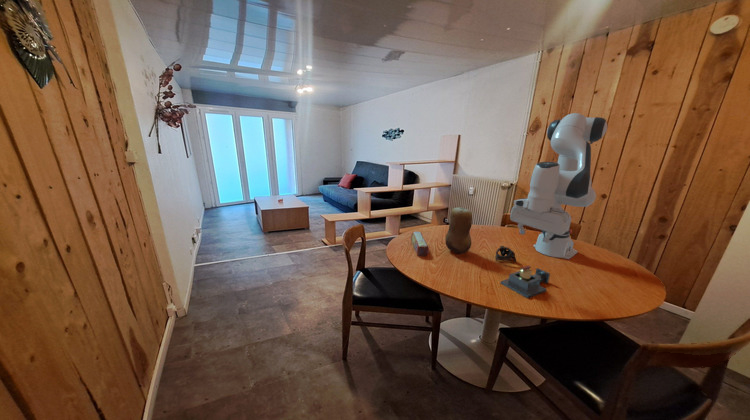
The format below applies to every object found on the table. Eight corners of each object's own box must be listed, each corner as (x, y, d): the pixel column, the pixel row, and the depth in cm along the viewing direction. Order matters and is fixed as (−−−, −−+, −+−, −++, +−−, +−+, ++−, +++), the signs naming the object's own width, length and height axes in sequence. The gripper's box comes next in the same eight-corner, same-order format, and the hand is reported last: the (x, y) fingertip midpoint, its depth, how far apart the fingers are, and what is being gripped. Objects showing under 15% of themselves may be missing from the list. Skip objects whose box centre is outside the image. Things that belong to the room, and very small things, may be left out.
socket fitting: (528, 273, 114) (530, 264, 113) (556, 287, 104) (558, 276, 102) (500, 283, 106) (502, 272, 104) (527, 298, 95) (530, 287, 94)
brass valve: (521, 281, 105) (524, 264, 103) (530, 286, 102) (534, 268, 100) (514, 284, 103) (517, 266, 101) (523, 289, 100) (527, 270, 98)
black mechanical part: (520, 265, 123) (517, 254, 119) (501, 271, 125) (497, 260, 122) (510, 250, 133) (506, 239, 130) (492, 256, 136) (488, 245, 132)
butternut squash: (472, 250, 138) (478, 207, 131) (466, 259, 127) (473, 213, 120) (447, 245, 145) (452, 204, 138) (440, 253, 134) (445, 209, 127)
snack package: (428, 257, 129) (429, 245, 128) (416, 256, 129) (416, 244, 128) (421, 241, 150) (422, 231, 148) (410, 241, 150) (411, 230, 148)
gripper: (574, 210, 87) (566, 246, 91) (520, 198, 105) (514, 228, 109) (564, 212, 85) (556, 249, 89) (510, 200, 102) (505, 231, 106)
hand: (533, 237), depth 99 cm, fingers open, 8 cm apart
